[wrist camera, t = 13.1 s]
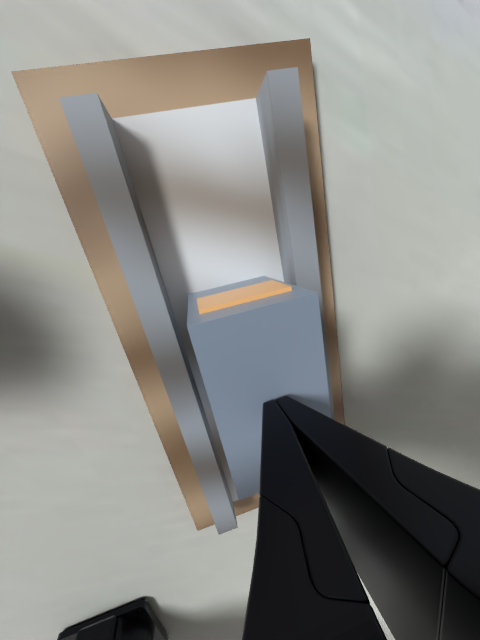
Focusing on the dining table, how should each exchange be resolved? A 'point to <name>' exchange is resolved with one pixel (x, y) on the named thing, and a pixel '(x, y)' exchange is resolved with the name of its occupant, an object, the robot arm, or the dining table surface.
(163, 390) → the rail mount
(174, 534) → the dining table surface
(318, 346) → the block
